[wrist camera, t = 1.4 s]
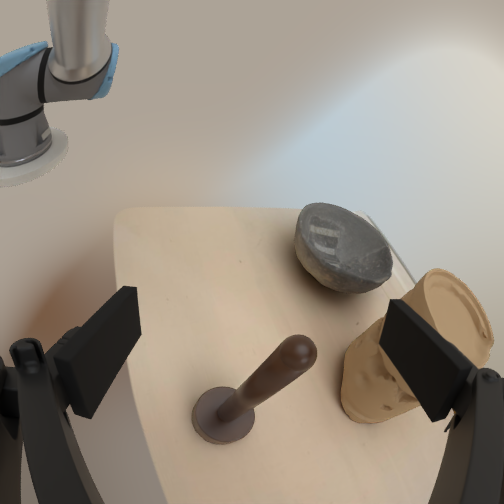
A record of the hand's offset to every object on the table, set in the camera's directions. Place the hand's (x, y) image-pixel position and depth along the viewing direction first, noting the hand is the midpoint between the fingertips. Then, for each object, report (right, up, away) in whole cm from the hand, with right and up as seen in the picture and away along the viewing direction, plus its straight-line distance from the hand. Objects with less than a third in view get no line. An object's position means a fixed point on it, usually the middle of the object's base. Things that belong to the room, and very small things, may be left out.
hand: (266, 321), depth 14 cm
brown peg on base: (-4, -14, +13) cm, 20 cm away
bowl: (+12, 0, +35) cm, 37 cm away
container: (+15, -15, +21) cm, 30 cm away
